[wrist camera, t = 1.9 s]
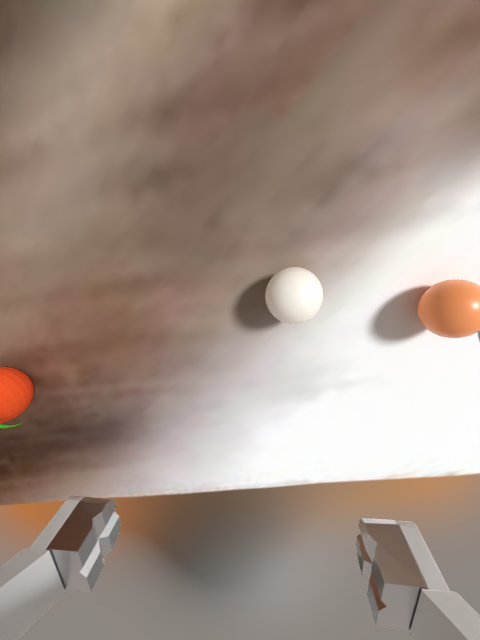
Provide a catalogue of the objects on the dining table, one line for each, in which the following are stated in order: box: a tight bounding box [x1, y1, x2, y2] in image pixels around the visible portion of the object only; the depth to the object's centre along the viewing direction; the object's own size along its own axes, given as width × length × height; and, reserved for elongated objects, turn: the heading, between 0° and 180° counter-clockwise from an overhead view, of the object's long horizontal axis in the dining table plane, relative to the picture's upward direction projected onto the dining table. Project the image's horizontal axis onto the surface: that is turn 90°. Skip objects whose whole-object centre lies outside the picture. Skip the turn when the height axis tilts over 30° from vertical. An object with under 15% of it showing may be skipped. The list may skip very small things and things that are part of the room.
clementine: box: [0, 367, 34, 428], centre depth 33 cm, size 8×7×7 cm
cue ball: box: [265, 267, 323, 324], centre depth 26 cm, size 6×6×6 cm
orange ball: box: [418, 280, 480, 338], centre depth 25 cm, size 6×6×6 cm
